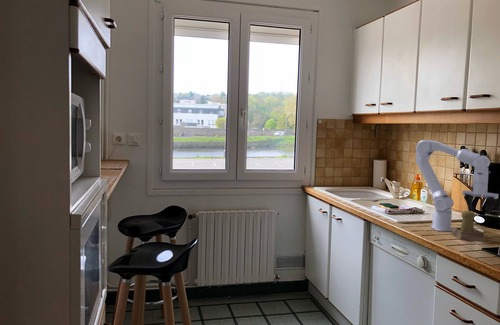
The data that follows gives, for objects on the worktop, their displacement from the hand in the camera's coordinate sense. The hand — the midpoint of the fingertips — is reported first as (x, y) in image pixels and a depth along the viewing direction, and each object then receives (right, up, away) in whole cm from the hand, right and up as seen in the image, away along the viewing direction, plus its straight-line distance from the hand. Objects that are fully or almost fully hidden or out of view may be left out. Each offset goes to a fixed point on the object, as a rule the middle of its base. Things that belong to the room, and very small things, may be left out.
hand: (479, 212), depth 194 cm
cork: (-8, -10, -5) cm, 14 cm away
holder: (-8, -11, -5) cm, 14 cm away
